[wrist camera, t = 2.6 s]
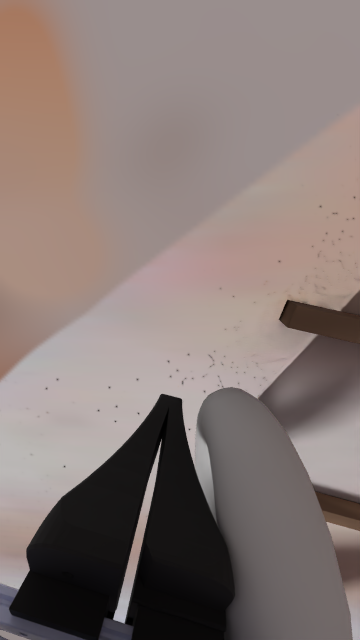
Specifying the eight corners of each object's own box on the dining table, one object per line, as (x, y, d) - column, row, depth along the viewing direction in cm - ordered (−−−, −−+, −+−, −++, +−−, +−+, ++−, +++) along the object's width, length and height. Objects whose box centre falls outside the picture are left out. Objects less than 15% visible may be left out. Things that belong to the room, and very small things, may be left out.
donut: (195, 352, 12) (292, 768, 2) (249, 353, 12) (555, 745, 2) (187, 461, 15) (212, 816, 5) (229, 461, 15) (324, 805, 6)
